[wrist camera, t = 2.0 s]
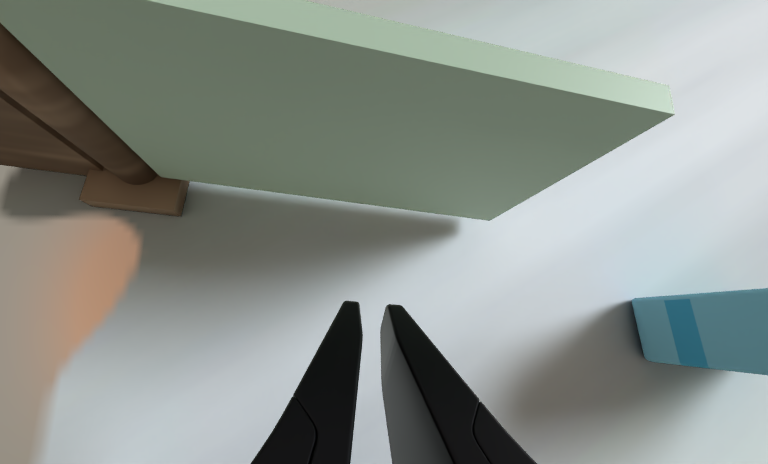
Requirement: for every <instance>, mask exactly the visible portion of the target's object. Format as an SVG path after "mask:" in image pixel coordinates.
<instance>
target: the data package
mask: <svg viewBox="0 0 768 464" xmlns="http://www.w3.org/2000/svg"><path fill="white" fill-rule="evenodd" d="M632 305H633V309H634V314H635V318H636V322H637V327H638V331H639V335H640V340H641V344H642V348H643V353H644V357H645V359H647V360H648V361H651V362H657V363H666V364H675V365H683V366H692V367H701V368H709V369H718V370H727V371H735V372H744V373H753V374H762V375H768V288H765V289H751V290H738V291H725V292H712V293H699V294H686V295H672V296H659V297H646V298H635V299H633V300H632Z"/></svg>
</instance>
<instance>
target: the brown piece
mask: <svg viewBox="0 0 768 464" xmlns="http://www.w3.org/2000/svg"><path fill="white" fill-rule="evenodd" d="M0 165H6V166H14V167H22V168H30V169H37V170H45V171H53V172H61V173H69V174H76V175H84V176H87V177H86V180H85V183H84V186H83V189H82V192H81V195H80V198H79V200H81V201H83V202H85V203H87V204H89V205H90V206H94V207H103V208H111V209H120V210H129V211H137V212H146V213H155V214H164V215H172V216H181V214H182V210H183V206H184V202H185V198H186V194H187V190H188V185H189V181H186V180H179V179H171V178H164V177H160V176H159V175H158V174H157V173H156V172H155V171H154V170H153V169H152V168H151V167H150V166H149V165H148V164H147V163H146V162H145V161H144V160H143V159H142V158H141V157H140V156H139V155H137V154H136V153H135V152H134V151H133V150H132V149H131V148H130V147H129V146H128V145H127V144H126V143H125V142H124V141H123V140H122V139H121V138H120V137H119V136H118V135H117V134H116V133H115V132H114V131H112V130H111V129H110V128H109V127H108V126H107V125H106V124H105V123H104V122H103V121H102V120H101V119H100V118H99V117H98V116H97V115H96V114H95V113H94V112H93V111H92V110H91V109H90V108H89V107H88V106H86V105H85V104H84V103H83V102H82V101H81V100H80V99H79V98H78V97H77V96H76V95H75V94H74V93H73V92H72V91H71V90H70V89H69V88H68V87H67V86H66V85H65V84H64V83H63V82H62V81H60V80H59V79H58V78H57V77H56V76H55V75H54V74H53V73H52V72H51V71H50V70H49V69H48V68H47V67H46V66H45V65H44V64H43V63H42V62H41V61H40V60H39V59H38V58H37V57H35V56H34V55H33V54H32V53H31V52H30V51H29V50H28V49H27V48H26V47H25V46H24V45H23V44H22V43H21V42H20V41H19V40H18V39H17V38H16V37H15V36H14V35H13V34H12V33H11V32H9V31H8V30H7V29H6V28H5V27H4V26H3V25H2V24H1V23H0Z"/></svg>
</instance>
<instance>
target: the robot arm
mask: <svg viewBox="0 0 768 464" xmlns="http://www.w3.org/2000/svg"><path fill="white" fill-rule="evenodd" d="M362 338H363V334H362V324H361V315H360V306H359V303H358V302H354V301H344V302H343V304H342V306H341V308H340V309H339V311H338V313H337V315H336V317H335V319H334V321H333V322H332V324H331V326H330V328H329V330H328V332H327V334H326V335H325V337H324V339H323V341H322V343H321V345H320V346H319V348H318V350H317V352H316V354H315V356H314V358H313V359H312V361H311V363H310V365H309V367H308V369H307V371H306V372H305V374H304V376H303V378H302V380H301V382H300V383H299V385H298V387H297V389H296V391H295V393H294V395H293V397H292V398H291V400H290V402H289V403H288V405H287V407H286V409H285V411H284V412H283V414H282V416H281V418H280V419H279V421H278V423H277V424H276V426H275V428H274V430H273V431H272V433H271V434H270V436H269V437H268V439H267V440H266V442H265V443H264V445H263V446H262V448H261V449H260V451H259V452H258V454H257V455H256V457H255V458H254V460H253V461H252V462H251V464H350V460H351V450H352V440H353V430H354V420H355V410H356V400H357V390H358V380H359V370H360V360H361V350H362ZM380 338H381V380H382V392H383V400H384V407H385V414H386V422H387V429H388V436H389V443H390V450H391V457H392V464H537V463H536V462H535V461H534V460H533V459H532V458H531V457H530V456H529V455H528V454H527V453H526V452H525V451H524V450H523V449H522V448H521V447H520V445H519V444H518V443H517V442H516V441H515V440H514V439H513V438H512V437H511V436H510V435H509V434H508V433H507V431H506V430H505V429H504V428H503V427H502V426H501V425H500V423H499V422H498V421H497V420H496V419H495V418H494V416H493V415H492V414H491V413H490V412H489V410H488V409H487V408H486V407H485V406H484V404H483V403H482V402H479V399H478V397H477V396H476V395H475V394H474V392H473V391H472V390H471V389H470V388H469V386H468V385H467V384H466V383H465V382H464V380H463V379H462V378H461V377H460V375H459V374H458V373H457V372H456V371H455V369H454V368H453V367H452V366H451V365H450V363H449V362H448V361H447V360H446V359H445V357H444V356H443V355H442V354H441V352H440V351H439V350H438V349H437V348H436V346H435V345H434V344H433V343H432V342H431V340H430V339H429V338H428V337H427V335H426V334H425V333H424V332H423V331H422V329H421V328H420V327H419V326H418V325H417V323H416V322H415V321H414V320H413V319H412V317H411V316H410V315H409V314H408V312H407V311H406V310H405V309H404V308H403V307H402V306H401V305H392V304H389V305H387V306H386V309H385V313H384V317H383V321H382V324H381V332H380Z"/></svg>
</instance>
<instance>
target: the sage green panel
mask: <svg viewBox="0 0 768 464" xmlns="http://www.w3.org/2000/svg"><path fill="white" fill-rule="evenodd" d="M0 23H1V24H2V25H3V26H4V27H5V28H6V29H7V30H8V31H9V32H11V33H12V34H13V35H14V36H15V37H16V38H17V39H18V40H19V41H20V42H21V43H22V44H23V45H24V46H25V47H26V48H27V49H28V50H29V51H30V52H31V53H32V54H33V55H34V56H35V57H37V58H38V59H39V60H40V61H41V62H42V63H43V64H44V65H45V66H46V67H47V68H48V69H49V70H50V71H51V72H52V73H53V74H54V75H55V76H56V77H57V78H58V79H59V80H60V81H62V82H63V83H64V84H65V85H66V86H67V87H68V88H69V89H70V90H71V91H72V92H73V93H74V94H75V95H76V96H77V97H78V98H79V99H80V100H81V101H82V102H83V103H84V104H85V105H86V106H88V107H89V108H90V109H91V110H92V111H93V112H94V113H95V114H96V115H97V116H98V117H99V118H100V119H101V120H102V121H103V122H104V123H105V124H106V125H107V126H108V127H109V128H110V129H111V130H112V131H114V132H115V133H116V134H117V135H118V136H119V137H120V138H121V139H122V140H123V141H124V142H125V143H126V144H127V145H128V146H129V147H130V148H131V149H132V150H133V151H134V152H135V153H136V154H137V155H139V156H140V157H141V158H142V159H143V160H144V161H145V162H146V163H147V164H148V165H149V166H150V167H151V168H152V169H153V170H154V171H155V172H156V173H157V174H158V175H159V176H160V177H164V178H171V179H179V180H186V181H194V182H201V183H209V184H217V185H224V186H232V187H239V188H247V189H254V190H262V191H269V192H277V193H284V194H292V195H300V196H307V197H315V198H322V199H330V200H337V201H345V202H352V203H360V204H368V205H375V206H383V207H390V208H398V209H405V210H413V211H420V212H428V213H435V214H443V215H451V216H458V217H466V218H473V219H481V220H488V221H490V220H492V219H494V218H495V217H497V216H499V215H500V214H502V213H504V212H506V211H507V210H509V209H511V208H513V207H514V206H516V205H518V204H520V203H521V202H523V201H525V200H527V199H528V198H530V197H532V196H534V195H535V194H537V193H539V192H541V191H542V190H544V189H546V188H547V187H549V186H551V185H553V184H554V183H556V182H558V181H560V180H561V179H563V178H565V177H567V176H568V175H570V174H572V173H574V172H575V171H577V170H579V169H581V168H582V167H584V166H586V165H588V164H589V163H591V162H593V161H595V160H596V159H598V158H600V157H601V156H603V155H605V154H607V153H608V152H610V151H612V150H614V149H615V148H617V147H619V146H621V145H622V144H624V143H626V142H628V141H629V140H631V139H633V138H635V137H636V136H638V135H640V134H642V133H643V132H645V131H647V130H648V129H650V128H652V127H654V126H655V125H657V124H659V123H661V122H662V121H664V120H666V119H668V118H669V117H671V116H673V115H675V113H674V107H673V102H672V97H671V92H670V87H669V85H665V84H660V83H656V82H652V81H648V80H643V79H639V78H635V77H630V76H626V75H622V74H618V73H613V72H609V71H605V70H601V69H596V68H592V67H588V66H583V65H579V64H575V63H571V62H566V61H562V60H558V59H553V58H549V57H545V56H541V55H536V54H532V53H528V52H523V51H519V50H515V49H511V48H506V47H502V46H498V45H493V44H489V43H485V42H481V41H476V40H472V39H468V38H464V37H459V36H455V35H451V34H446V33H442V32H438V31H434V30H429V29H425V28H421V27H416V26H412V25H408V24H404V23H399V22H395V21H391V20H386V19H382V18H378V17H374V16H369V15H365V14H361V13H357V12H352V11H348V10H344V9H339V8H335V7H331V6H327V5H322V4H318V3H314V2H309V1H305V0H0Z"/></svg>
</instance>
